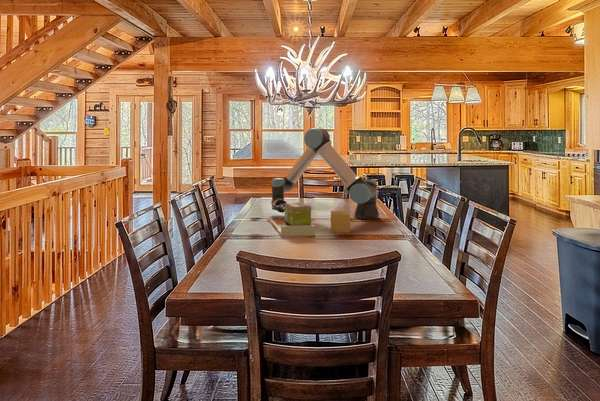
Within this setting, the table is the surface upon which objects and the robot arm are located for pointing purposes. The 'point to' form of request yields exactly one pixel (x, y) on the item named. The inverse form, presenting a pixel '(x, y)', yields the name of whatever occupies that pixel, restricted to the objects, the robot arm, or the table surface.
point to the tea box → (297, 214)
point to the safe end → (297, 230)
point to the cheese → (340, 222)
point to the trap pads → (279, 221)
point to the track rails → (273, 223)
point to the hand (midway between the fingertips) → (287, 210)
